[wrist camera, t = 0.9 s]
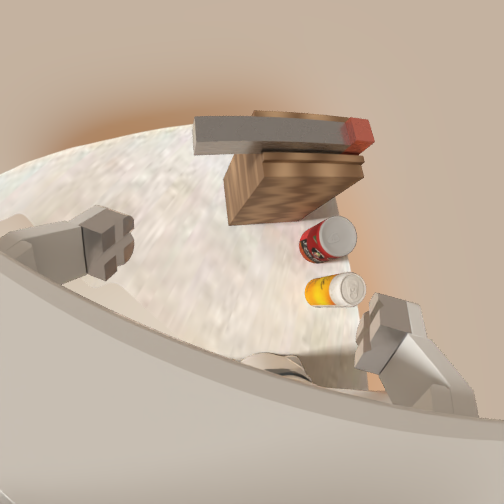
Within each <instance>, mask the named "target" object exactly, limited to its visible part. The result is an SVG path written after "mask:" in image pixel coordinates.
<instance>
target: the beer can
mask: <svg viewBox="0 0 504 504" xmlns="http://www.w3.org/2000/svg"><path fill="white" fill-rule="evenodd" d="M365 294H366V285H365V282H364V280H363V279H362V277H360V276H359V275H357V274H356V273H353V272H346V273H341V274H336V275H331V276H326V277H321V278H316V279H313V280H311V281H310V282H309V283H308V284H307V286H306V288H305V298H306V300H307V302H308V303H309V304H310V305H311V306H313V307H354V306H356V305H358V304H359V303H360V302H361V301H362V300H363V299H364V297H365Z"/></svg>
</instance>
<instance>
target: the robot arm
mask: <svg viewBox="0 0 504 504" xmlns="http://www.w3.org/2000/svg"><path fill="white" fill-rule="evenodd" d="M133 229H134V219H133V218H132V216H130V215H127V214H124V213H121V212H118V211H115V210H112V209H109V208H106V207H103V206H99V205H95V206H93V207H92V208H90V209H88V210H86V211H85V212H83V213H81V214H80V215H78V216H76V217H75V218H73V219H71V220H70V221H68V222H67V221H61V222H55V223H50V224H45V225H40V226H35V227H30V228H26V229H20V230H16V231H11V232H8V233H7V234H6V235H4V236H2V237H1V238H0V504H504V420H496V419H486V418H479V416H478V410H477V405H476V400H475V395H474V391H473V390H472V388H471V387H470V386H469V384H468V383H467V382H466V381H465V379H464V378H463V377H462V376H461V374H460V373H459V372H458V371H457V369H456V368H455V367H454V366H453V365H452V363H451V362H450V361H449V360H448V359H447V357H446V356H445V355H444V354H443V353H442V351H441V350H440V349H439V348H438V347H437V346H436V344H435V343H434V342H433V341H432V340H431V339H428V338H427V335H426V330H425V325H424V321H423V316H422V312H421V308H420V305H419V304H416V303H413V302H409V301H405V300H401V299H398V298H394V297H390V296H387V295H383V294H380V293H375V294H374V295H373V297H372V298H371V300H370V302H369V311H368V312H366V313H364V314H363V316H362V318H361V320H360V323H359V325H358V328H357V333H356V343H357V345H358V348H357V350H356V351H355V364H354V368H356V369H360V370H363V371H367V372H371V373H374V374H378V375H379V378H380V380H381V382H382V384H383V386H384V388H385V390H386V391H365V390H352V389H340V388H327V387H321V386H318V385H316V384H314V383H312V382H311V381H312V379H311V378H310V376H307V374H306V372H305V370H304V367H303V365H302V363H301V361H300V359H299V358H298V357H297V356H295V355H289V356H278V355H275V354H271V353H258V354H254V355H251V356H248V357H246V358H245V359H243V360H242V361H241V362H239V361H236V360H233V359H230V358H227V357H224V356H221V355H219V354H216V353H213V352H210V351H208V350H205V349H202V348H200V347H197V346H195V345H192V344H189V343H187V342H184V341H182V340H179V339H177V338H174V337H172V336H169V335H167V334H165V333H162V332H159V331H157V330H155V329H153V328H150V327H148V326H146V325H143V324H141V323H139V322H137V321H134V320H132V319H130V318H128V317H125V316H123V315H121V314H119V313H117V312H114V311H112V310H110V309H108V308H106V307H104V306H102V305H100V304H97V303H95V302H93V301H91V300H89V299H87V298H85V297H83V296H81V295H79V294H77V293H75V292H73V291H71V290H69V289H67V288H65V287H64V286H62V284H64V283H67V282H69V281H72V280H74V279H77V278H80V277H82V276H85V275H87V274H89V275H91V276H94V277H96V278H99V279H101V280H104V281H107V280H108V279H109V278H110V277H111V276H112V275H113V274H114V273H115V272H116V271H117V266H120V265H124V264H125V263H126V262H127V261H128V260H129V259H130V257H131V255H132V253H133V249H134V239H133V237H132V235H131V232H132V230H133Z"/></svg>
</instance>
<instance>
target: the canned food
mask: <svg viewBox="0 0 504 504" xmlns="http://www.w3.org/2000/svg"><path fill="white" fill-rule="evenodd" d="M356 242H357V233H356V230H355V227H354V226H353V224H352V223H351V222H350V221H349V220H348V219H346V218H344V217H342V216H333V217H330V218H328V219H326V220H324V221H322V222H320V223H319V224H317V225H315V226H313V227H312V228H310V229H308V230H307V231H305V232H304V233H303V235H302V237H301V239H300V242H299V249H300V252H301V254H302V256H303V257H304V258H305V259H306V260H308V261H309V262H312V263H322V262H326V261H329V260H333V259H336V258H340V257H343V256H346V255H347V254H349V253H350V252H352V250H353V249H354V247H355V245H356Z"/></svg>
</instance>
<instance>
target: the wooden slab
mask: <svg viewBox="0 0 504 504" xmlns="http://www.w3.org/2000/svg"><path fill="white" fill-rule="evenodd" d="M252 116H256V117H282V118H299V119H313V120H324V121H335V122H344V123H345V122H346V121H347V120H348V119H349V118H347V117H338V116H328V115H319V114H308V113H294V112H277V111H254V112H253V114H252ZM363 163H364V157H363V156H359V155H358V156H357V155H340V154H319V153H281V152H263V154H234V156H233V158H232V161H231V163H230V165H229V167H228V170H227V172H226V174H225V177H224V179H223V180H224V189H225V198H226V207H227V216H228V225H229V226H232V225H246V224H261V223H276V222H292V221H299V220H301V219H302V218H304V217H305V216H307V215H308V214H310V213H311V212H313V211H314V210H316V209H317V208H319V207H320V206H322V205H323V204H325V203H326V202H328V201H329V200H331V199H332V198H334V197H335V196H337V195H338V194H340V193H341V192H343V191H344V190H346V189H347V188H349V187H350V186H352V185H353V184H355V183H356V182H358V181H359V180H361V179H362V178H364V175H363V171H362V166H361V165H362V164H363Z"/></svg>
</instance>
